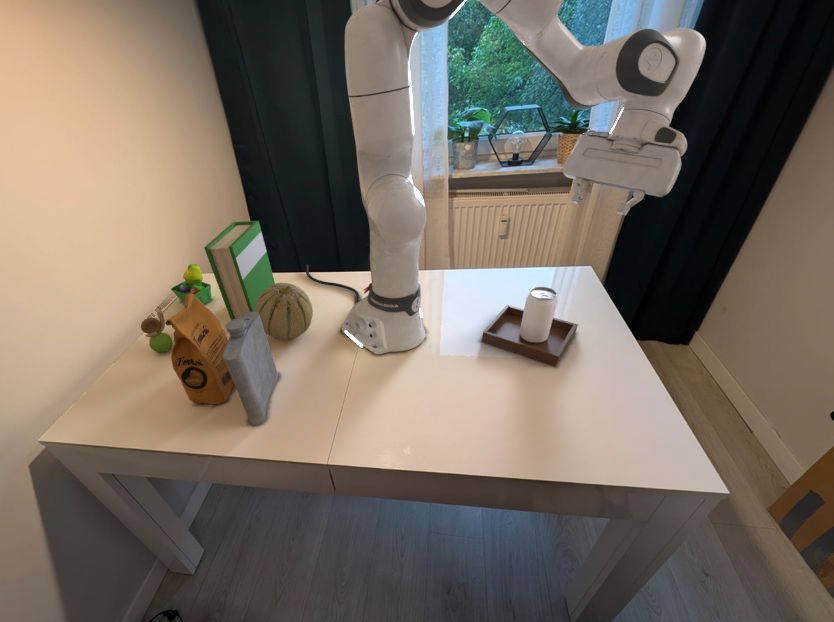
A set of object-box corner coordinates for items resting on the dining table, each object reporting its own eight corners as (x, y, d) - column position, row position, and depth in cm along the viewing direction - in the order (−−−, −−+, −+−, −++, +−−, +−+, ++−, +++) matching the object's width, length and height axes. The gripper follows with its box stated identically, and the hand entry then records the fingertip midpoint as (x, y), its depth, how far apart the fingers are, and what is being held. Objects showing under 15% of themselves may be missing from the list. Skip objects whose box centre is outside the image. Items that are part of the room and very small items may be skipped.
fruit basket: (175, 302, 122) (160, 270, 115) (197, 290, 128) (185, 259, 121) (198, 310, 117) (184, 277, 110) (220, 297, 122) (208, 265, 115)
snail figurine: (182, 347, 102) (164, 309, 94) (159, 359, 98) (138, 321, 91) (174, 340, 105) (155, 303, 97) (151, 351, 101) (130, 314, 94)
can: (543, 328, 94) (554, 285, 86) (550, 343, 89) (562, 299, 81) (516, 328, 95) (524, 286, 87) (522, 344, 90) (531, 300, 82)
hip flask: (263, 424, 77) (233, 348, 65) (244, 425, 78) (210, 349, 65) (279, 373, 90) (257, 300, 78) (263, 373, 90) (238, 302, 78)
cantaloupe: (267, 322, 108) (252, 274, 99) (317, 316, 108) (308, 268, 99) (259, 354, 96) (241, 303, 87) (316, 347, 97) (305, 297, 87)
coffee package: (184, 407, 83) (139, 325, 70) (208, 369, 93) (171, 291, 80) (227, 407, 82) (189, 324, 69) (246, 369, 92) (216, 290, 78)
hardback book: (258, 327, 106) (232, 246, 91) (233, 327, 107) (204, 247, 93) (278, 295, 120) (258, 220, 105) (256, 295, 121) (233, 221, 106)
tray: (481, 341, 93) (482, 332, 91) (505, 313, 102) (506, 304, 100) (555, 366, 84) (558, 356, 82) (575, 333, 92) (578, 324, 91)
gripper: (577, 123, 77) (544, 192, 82) (694, 136, 64) (647, 217, 69) (586, 134, 81) (554, 200, 86) (697, 149, 69) (653, 224, 74)
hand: (597, 208), depth 78 cm, fingers open, 8 cm apart
